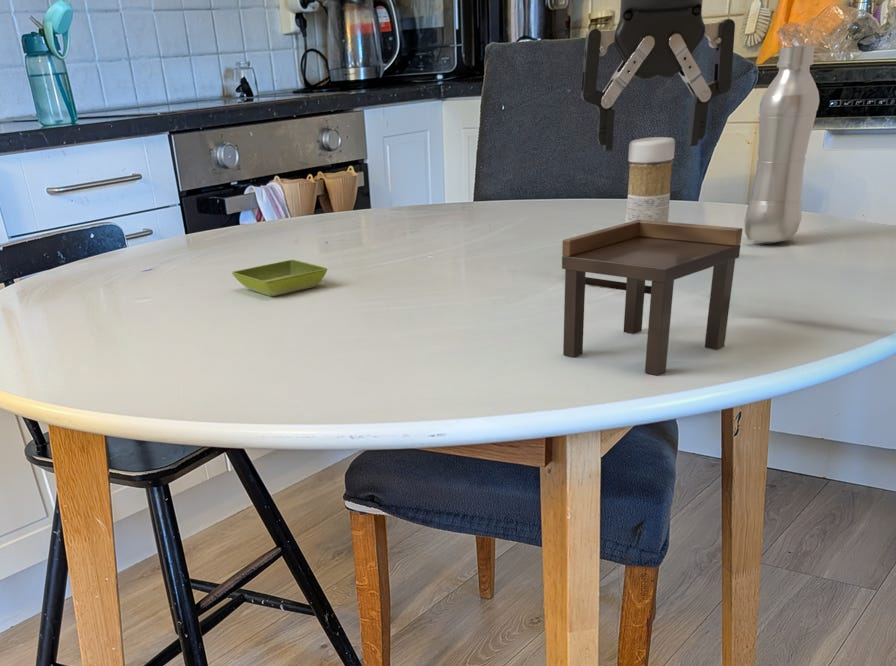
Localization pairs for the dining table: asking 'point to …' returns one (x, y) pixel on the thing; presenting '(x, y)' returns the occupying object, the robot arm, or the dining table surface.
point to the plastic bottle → (783, 148)
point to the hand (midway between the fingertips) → (649, 148)
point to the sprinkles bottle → (649, 178)
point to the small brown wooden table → (650, 277)
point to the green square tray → (281, 277)
